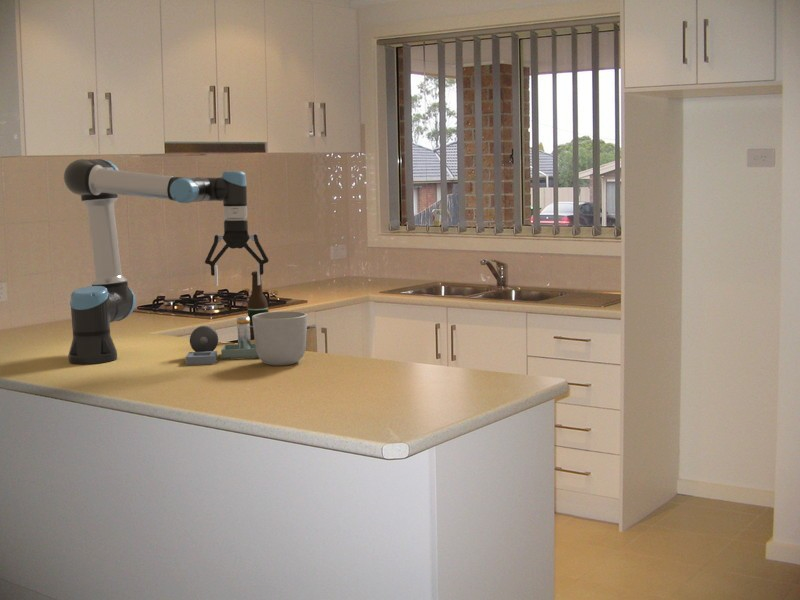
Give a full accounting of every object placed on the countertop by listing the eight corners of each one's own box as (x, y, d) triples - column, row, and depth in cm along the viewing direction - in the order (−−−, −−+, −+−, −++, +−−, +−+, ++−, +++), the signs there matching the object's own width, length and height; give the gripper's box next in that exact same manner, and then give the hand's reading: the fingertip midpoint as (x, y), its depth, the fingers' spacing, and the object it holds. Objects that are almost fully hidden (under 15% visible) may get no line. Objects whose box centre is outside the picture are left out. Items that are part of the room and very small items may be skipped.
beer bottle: (265, 339, 360) (263, 272, 357) (245, 339, 362) (242, 272, 358) (272, 336, 368) (270, 270, 364) (252, 335, 369) (249, 270, 366)
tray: (221, 359, 324) (221, 350, 324) (224, 353, 334) (223, 344, 334) (266, 357, 325) (265, 348, 325) (267, 352, 335) (267, 343, 335)
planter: (319, 362, 316) (318, 313, 314) (278, 370, 303) (276, 320, 301) (284, 356, 327) (282, 309, 325) (242, 364, 315) (240, 316, 313)
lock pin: (237, 355, 327) (236, 318, 326) (238, 352, 331) (237, 316, 330) (250, 354, 328) (249, 318, 326) (251, 352, 332) (250, 316, 330)
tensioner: (186, 365, 316) (184, 333, 314) (191, 355, 332) (190, 325, 331) (215, 363, 317) (213, 332, 315) (219, 354, 333) (218, 324, 332)
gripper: (195, 220, 319) (197, 287, 322) (274, 219, 322) (276, 285, 324) (197, 219, 327) (199, 284, 330) (275, 218, 329) (276, 283, 332)
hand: (237, 285), depth 327 cm, fingers open, 13 cm apart
